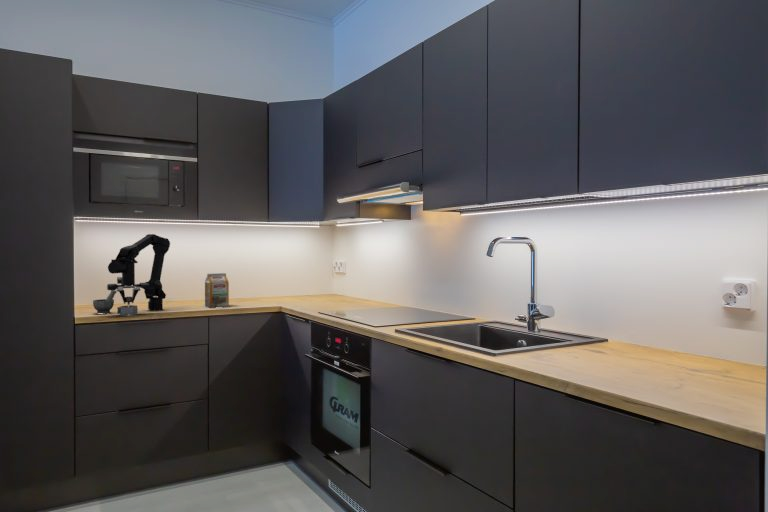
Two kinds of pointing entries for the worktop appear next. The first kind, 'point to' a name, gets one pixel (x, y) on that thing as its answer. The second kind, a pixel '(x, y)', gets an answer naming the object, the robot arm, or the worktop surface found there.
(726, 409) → the worktop surface
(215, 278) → the printed carton
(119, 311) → the blue-grey block
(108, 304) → the mortar and pestle
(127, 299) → the plunger
